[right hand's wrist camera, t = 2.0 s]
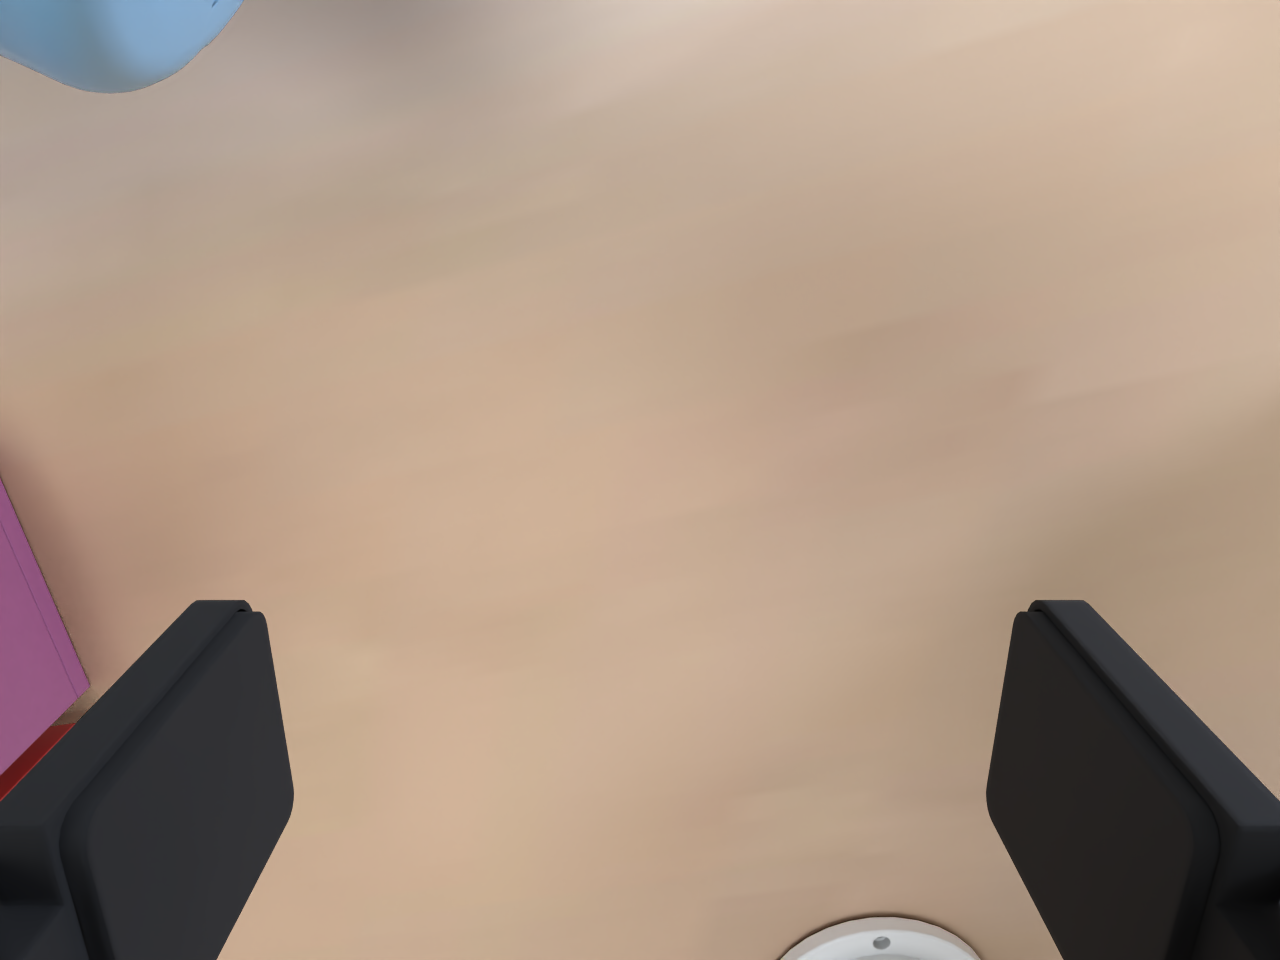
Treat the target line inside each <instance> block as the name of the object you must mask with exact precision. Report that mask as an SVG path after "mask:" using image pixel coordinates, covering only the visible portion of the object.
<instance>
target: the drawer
mask: <svg viewBox="0 0 1280 960" xmlns="http://www.w3.org/2000/svg"><path fill="white" fill-rule="evenodd" d="M75 724H76V723H72V724H64V725H57V726H50V727H49V728H48V729H47V730H46V731H45V732H44V733H43V734H42V735H41V736H40V737H39V738H38V739H37V740H36V741H35V742H34V743H33V744H32V745H31V746H30V747H29V748H28V749H27V750H26V751H25V752H24V753H23V754H22V755H21V756H20V757H19V758H17V759H16V760H15V761H14V762H13V763H12V764H11V765H10V766H9V767H8V768H7V769H6V770H5V771H4V772H3V773H2V774H1V775H0V801H1V800H2V799H3V798H4V797H5V796H6V795H7V794H8V793H9V792H10V791H11V790H12V789H13V788H14V787H15V786H16V785H17V784H18V783H19V782H20V780H21V779H22V778H23V777H24V776H25V775H26V774H27V773H28V772H29V771H30V770H31V769H32V768H33V767H34V766H35V765H36V764H37V763H38V762H39V761H40V760H41V759H42V758H43V757H44V756H45V755H46V754H47V753H48V752H49V751H50V749H51V748H52V747H53V746H54V745H55V744H56V743H57V742H58V741H59V740H60V739H61V738H62V737H63V736H64V735H65V734H66V733H67V732H68V731H69V730H70V729H71V728H72V727H73V726H74V725H75Z"/></svg>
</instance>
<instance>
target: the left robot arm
mask: <svg viewBox="0 0 1280 960" xmlns="http://www.w3.org/2000/svg"><path fill="white" fill-rule="evenodd" d="M243 1H244V0H0V55H1V56H3V57H5V58H8V59H10V60H12V61H14V62H17V63H19V64H21V65H24V66H26V67H28V68H30V69H32V70H34V71H37V72H39V73H41V74H43V75H45V76H47V77H50V78H52V79H54V80H56V81H58V82H60V83H62V84H65V85H68V86H71V87H74V88H77V89H80V90H85V91H89V92H99V93H122V92H130V91H134V90H138V89H142V88H145V87H147V86H150V85H152V84H155V83H157V82H159V81H161V80H163V79H165V78H167V77H169V76H171V75H173V74H174V73H176V72H177V71H179V70H180V69H182V68H183V67H184V66H185V65H186V64H187V63H189V62H190V61H191V60H192V59H193V58H194V57H195V56H196V55H197V53H198V52H199V51H200V50H201V49H202V48H204V47H205V46H207V45H208V44H209V43H210V42H211V41H212V40H213V39H214V38H215V37H216V36H217V35H218V34H219V33H220V32H221V31H222V29H223V28H224V27H225V25H226V24H227V23H228V22H229V20H230V19H231V18H232V16H233V15H234V14H235V12H236V11H237V10H238V8H239V7H240V5H241V4H242V2H243Z"/></svg>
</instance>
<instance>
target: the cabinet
mask: <svg viewBox="0 0 1280 960" xmlns="http://www.w3.org/2000/svg"><path fill="white" fill-rule="evenodd" d="M89 687H90V685H89V682H88V680H87V678H86V675H85V673H84V671H83V669H82V666H81V664H80V662H79V659H78V657H77V655H76V652H75V650H74V648H73V645H72V643H71V641H70V638H69V636H68V634H67V631H66V629H65V627H64V625H63V622H62V620H61V618H60V615H59V613H58V611H57V608H56V606H55V604H54V601H53V599H52V597H51V594H50V592H49V590H48V587H47V585H46V583H45V581H44V578H43V576H42V574H41V571H40V569H39V567H38V564H37V562H36V560H35V557H34V555H33V553H32V550H31V548H30V546H29V543H28V541H27V539H26V537H25V534H24V532H23V530H22V527H21V525H20V523H19V520H18V518H17V516H16V513H15V511H14V509H13V506H12V504H11V502H10V499H9V497H8V495H7V493H6V490H5V488H4V486H3V483H2V481H1V479H0V775H1V774H2V773H3V772H4V771H5V770H6V769H7V768H8V767H9V766H10V765H11V764H12V763H13V762H14V761H15V760H16V759H17V758H19V757H20V756H21V755H22V754H23V753H24V752H25V751H26V750H27V749H28V748H29V747H30V746H31V745H32V744H33V743H34V742H35V741H36V740H37V739H38V738H39V737H40V736H41V735H42V734H43V733H44V732H45V731H46V730H47V729H48V728H49V727H50V726H51V725H52V724H53V723H54V722H55V721H56V720H57V719H58V718H59V717H60V716H61V715H62V714H63V713H64V712H65V711H66V710H67V709H68V708H69V707H70V706H71V705H72V704H73V703H74V702H75V701H76V700H77V698H79V697H80V696H81V695H82V694H83V693H84V692H85V691H86V690H87V689H88V688H89Z"/></svg>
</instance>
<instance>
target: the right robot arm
mask: <svg viewBox="0 0 1280 960" xmlns="http://www.w3.org/2000/svg"><path fill="white" fill-rule="evenodd" d="M293 800H294V789H293V782H292V776H291V769H290V763H289V757H288V751H287V745H286V739H285V733H284V727H283V720H282V714H281V708H280V702H279V696H278V690H277V684H276V677H275V671H274V665H273V659H272V653H271V647H270V641H269V635H268V628H267V623H266V619H265V617H264V615H263V614H262V613H261V612H252V609H251V607H250V605H249V603H247V602H246V601H245V600H196V601H195V602H194V603H192V604H191V605H190V606H189V607H188V608H187V609H186V610H185V611H184V612H183V613H182V614H181V615H180V616H179V617H178V618H177V619H176V620H175V621H174V622H173V623H172V624H171V626H170V627H169V628H168V629H167V630H166V631H165V632H164V633H163V634H162V635H161V636H160V637H159V638H158V639H157V640H156V641H155V642H154V643H153V644H152V645H151V646H150V647H149V648H148V649H147V650H146V651H145V652H144V653H143V654H142V655H141V657H140V658H139V659H138V660H137V661H136V662H135V663H134V664H133V665H132V666H131V667H130V668H129V669H128V670H127V671H126V672H125V673H124V674H123V675H122V676H121V677H120V678H119V679H118V680H117V681H116V682H115V683H114V684H113V685H112V686H111V688H110V689H109V690H108V691H107V692H106V693H105V694H104V695H103V696H102V697H101V698H100V699H99V700H98V701H97V702H96V703H95V704H94V705H93V706H92V707H91V708H90V709H89V710H88V711H87V712H86V713H85V714H84V715H83V716H82V717H81V718H80V720H79V721H78V722H77V723H76V724H75V725H74V726H73V727H72V728H71V729H70V730H69V731H68V732H67V733H66V734H65V735H64V736H63V737H62V738H61V739H60V740H59V741H58V742H57V743H56V744H55V745H54V746H53V747H52V748H51V749H50V751H49V752H48V753H47V754H46V755H45V756H44V757H43V758H42V759H41V760H40V761H39V762H38V763H37V764H36V765H35V766H34V767H33V768H32V769H31V770H30V771H29V772H28V773H27V774H26V775H25V776H24V777H23V778H22V779H21V780H20V782H19V783H18V784H17V785H16V786H15V787H14V788H13V789H12V790H11V791H10V792H9V793H8V794H7V795H6V796H5V797H4V798H3V799H2V800H1V801H0V960H217V958H218V956H219V954H220V952H221V950H222V948H223V946H224V944H225V942H226V940H227V938H228V936H229V934H230V932H231V931H232V929H233V927H234V925H235V923H236V921H237V919H238V917H239V915H240V913H241V911H242V909H243V907H244V905H245V903H246V902H247V900H248V898H249V896H250V894H251V892H252V890H253V888H254V886H255V884H256V882H257V880H258V878H259V876H260V874H261V873H262V871H263V869H264V867H265V865H266V863H267V861H268V859H269V857H270V855H271V853H272V851H273V849H274V847H275V845H276V844H277V842H278V840H279V838H280V836H281V834H282V832H283V830H284V828H285V826H286V824H287V822H288V820H289V818H290V815H291V811H292V807H293ZM986 800H987V807H988V811H989V815H990V818H991V820H992V822H993V824H994V826H995V828H996V830H997V832H998V834H999V836H1000V838H1001V840H1002V842H1003V844H1004V845H1005V847H1006V849H1007V851H1008V853H1009V855H1010V857H1011V859H1012V861H1013V863H1014V865H1015V867H1016V869H1017V871H1018V873H1019V874H1020V876H1021V878H1022V880H1023V882H1024V884H1025V886H1026V888H1027V890H1028V892H1029V894H1030V896H1031V898H1032V900H1033V902H1034V903H1035V905H1036V907H1037V909H1038V911H1039V913H1040V915H1041V917H1042V919H1043V921H1044V923H1045V925H1046V927H1047V929H1048V931H1049V932H1050V934H1051V936H1052V938H1053V940H1054V942H1055V944H1056V946H1057V948H1058V950H1059V952H1060V954H1061V956H1062V958H1063V960H1280V801H1279V800H1278V799H1277V798H1276V797H1275V796H1274V795H1273V794H1272V793H1271V792H1270V791H1269V790H1268V789H1267V788H1266V787H1265V786H1264V785H1263V784H1262V783H1261V782H1260V780H1259V779H1258V778H1257V777H1256V776H1255V775H1254V774H1253V773H1252V772H1251V771H1250V770H1249V769H1248V768H1247V767H1246V766H1245V765H1244V764H1243V763H1242V762H1241V761H1240V760H1239V759H1238V758H1237V757H1236V756H1235V755H1234V754H1233V753H1232V752H1231V751H1230V749H1229V748H1228V747H1227V746H1226V745H1225V744H1224V743H1223V742H1222V741H1221V740H1220V739H1219V738H1218V737H1217V736H1216V735H1215V734H1214V733H1213V732H1212V731H1211V730H1210V729H1209V728H1208V727H1207V726H1206V725H1205V724H1204V723H1203V722H1202V721H1201V720H1200V718H1199V717H1198V716H1197V715H1196V714H1195V713H1194V712H1193V711H1192V710H1191V709H1190V708H1189V707H1188V706H1187V705H1186V704H1185V703H1184V702H1183V701H1182V700H1181V699H1180V698H1179V697H1178V696H1177V695H1176V694H1175V693H1174V692H1173V691H1172V690H1171V689H1170V688H1169V686H1168V685H1167V684H1166V683H1165V682H1164V681H1163V680H1162V679H1161V678H1160V677H1159V676H1158V675H1157V674H1156V673H1155V672H1154V671H1153V670H1152V669H1151V668H1150V667H1149V666H1148V665H1147V664H1146V663H1145V662H1144V661H1143V660H1142V659H1141V658H1140V657H1139V655H1138V654H1137V653H1136V652H1135V651H1134V650H1133V649H1132V648H1131V647H1130V646H1129V645H1128V644H1127V643H1126V642H1125V641H1124V640H1123V639H1122V638H1121V637H1120V636H1119V635H1118V634H1117V633H1116V632H1115V631H1114V630H1113V629H1112V628H1111V627H1110V626H1109V624H1108V623H1107V622H1106V621H1105V620H1104V619H1103V618H1102V617H1101V616H1100V615H1099V614H1098V613H1097V612H1096V611H1095V610H1094V609H1093V608H1092V607H1091V606H1090V605H1089V604H1088V603H1086V602H1085V601H1084V600H1035V601H1034V602H1033V603H1031V605H1030V607H1029V609H1028V612H1019V613H1018V614H1017V615H1016V617H1015V619H1014V623H1013V628H1012V635H1011V641H1010V647H1009V653H1008V659H1007V665H1006V671H1005V677H1004V684H1003V690H1002V696H1001V702H1000V708H999V714H998V720H997V727H996V733H995V739H994V745H993V751H992V757H991V763H990V769H989V776H988V782H987V789H986ZM780 960H981V959H980V958H979V957H978V956H977V954H976V953H975V952H974V951H973V949H972V948H971V947H970V946H968V945H967V944H966V943H965V942H963V941H962V940H961V939H960V938H958V937H957V936H956V935H954V934H952V933H950V932H948V931H946V930H944V929H942V928H940V927H938V926H935V925H931V924H928V923H925V922H922V921H918V920H912V919H905V918H897V917H871V918H865V919H859V920H852V921H847V922H844V923H841V924H838V925H835V926H831V927H828V928H826V929H824V930H822V931H820V932H818V933H816V934H814V935H812V936H809V937H807V938H806V939H805V940H803V941H802V942H800V943H799V944H798V945H796V946H795V947H793V948H792V949H790V950H789V951H788V952H787V953H786V954H785V955H784V956H783V957H782V958H781V959H780Z"/></svg>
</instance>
